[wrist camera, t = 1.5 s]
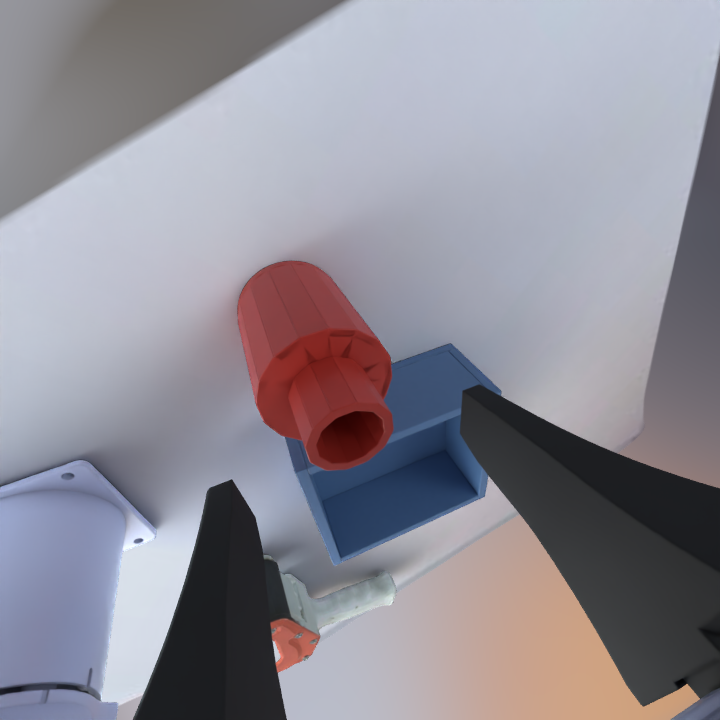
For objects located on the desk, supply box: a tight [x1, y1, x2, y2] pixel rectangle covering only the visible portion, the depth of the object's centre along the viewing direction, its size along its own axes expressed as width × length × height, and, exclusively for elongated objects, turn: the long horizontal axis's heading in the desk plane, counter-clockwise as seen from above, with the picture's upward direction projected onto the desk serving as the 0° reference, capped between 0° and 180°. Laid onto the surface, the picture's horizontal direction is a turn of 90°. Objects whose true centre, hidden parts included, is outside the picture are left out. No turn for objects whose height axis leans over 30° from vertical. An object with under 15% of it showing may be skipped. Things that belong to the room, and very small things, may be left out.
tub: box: [285, 344, 501, 566], centre depth 24 cm, size 12×11×5 cm
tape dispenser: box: [263, 555, 396, 673], centre depth 33 cm, size 18×5×20 cm
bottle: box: [237, 261, 394, 471], centre depth 15 cm, size 5×5×9 cm
